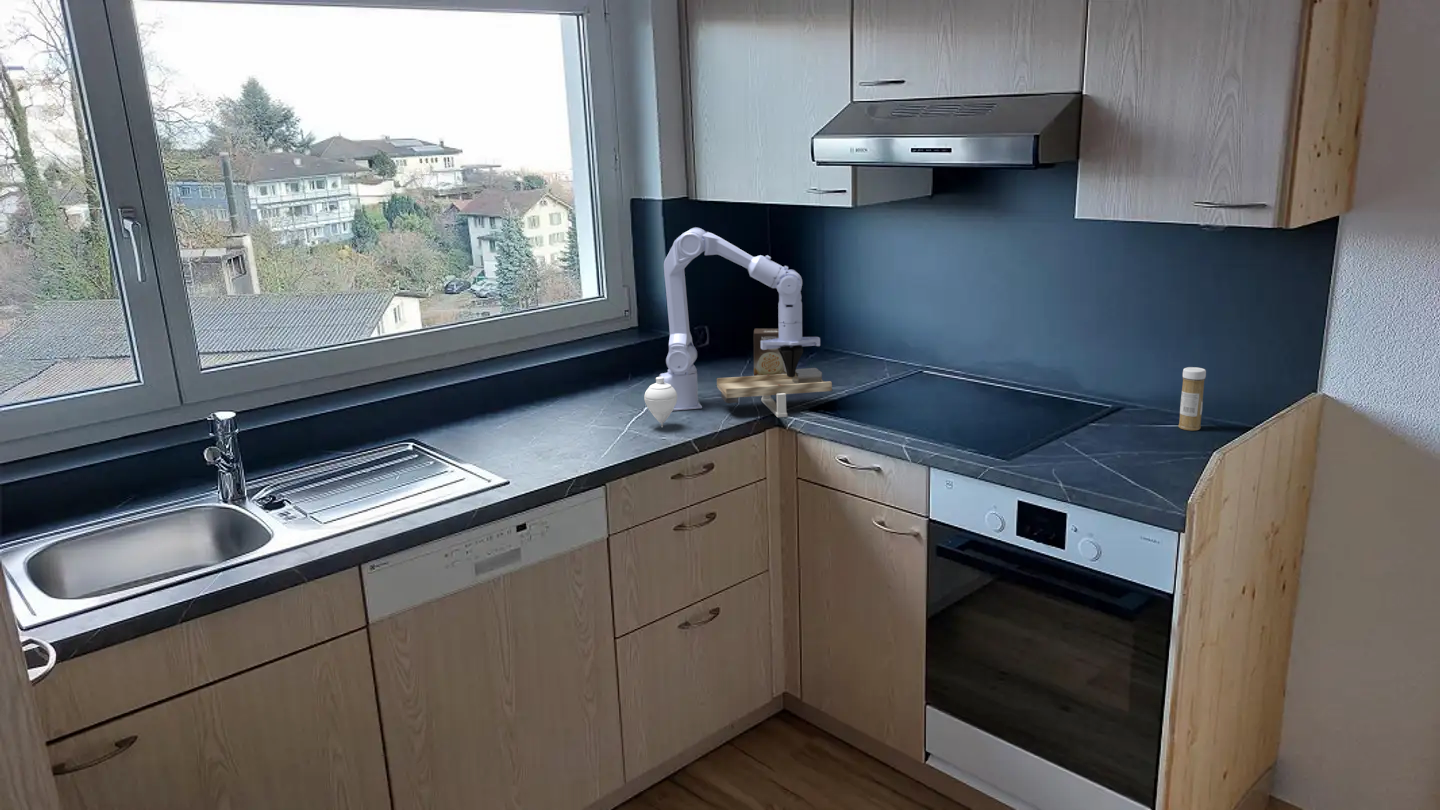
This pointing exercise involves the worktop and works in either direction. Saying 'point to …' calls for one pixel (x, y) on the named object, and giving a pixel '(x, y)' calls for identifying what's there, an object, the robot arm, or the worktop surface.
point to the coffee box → (767, 354)
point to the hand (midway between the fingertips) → (790, 376)
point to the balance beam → (765, 386)
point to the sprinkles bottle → (1192, 398)
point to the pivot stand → (776, 404)
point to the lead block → (807, 376)
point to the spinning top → (660, 399)
